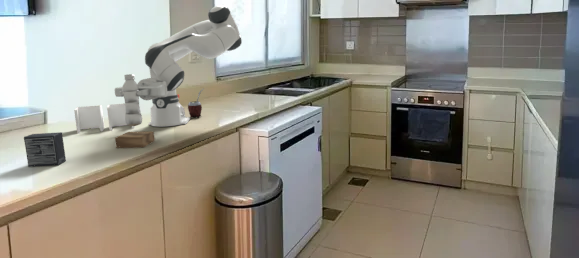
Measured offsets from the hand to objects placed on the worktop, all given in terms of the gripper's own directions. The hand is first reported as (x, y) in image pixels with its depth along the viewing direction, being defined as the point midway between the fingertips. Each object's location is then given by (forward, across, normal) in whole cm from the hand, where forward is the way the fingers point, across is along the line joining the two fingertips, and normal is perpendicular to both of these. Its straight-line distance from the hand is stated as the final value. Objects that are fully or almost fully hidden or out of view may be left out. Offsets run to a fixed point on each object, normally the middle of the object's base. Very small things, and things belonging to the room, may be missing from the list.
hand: (129, 93), depth 184 cm
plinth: (-1, 0, +20) cm, 20 cm away
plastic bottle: (-1, 0, +13) cm, 13 cm away
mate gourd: (-64, -3, +21) cm, 67 cm away
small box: (+29, -16, +20) cm, 39 cm away
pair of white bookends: (-32, -35, +21) cm, 52 cm away
